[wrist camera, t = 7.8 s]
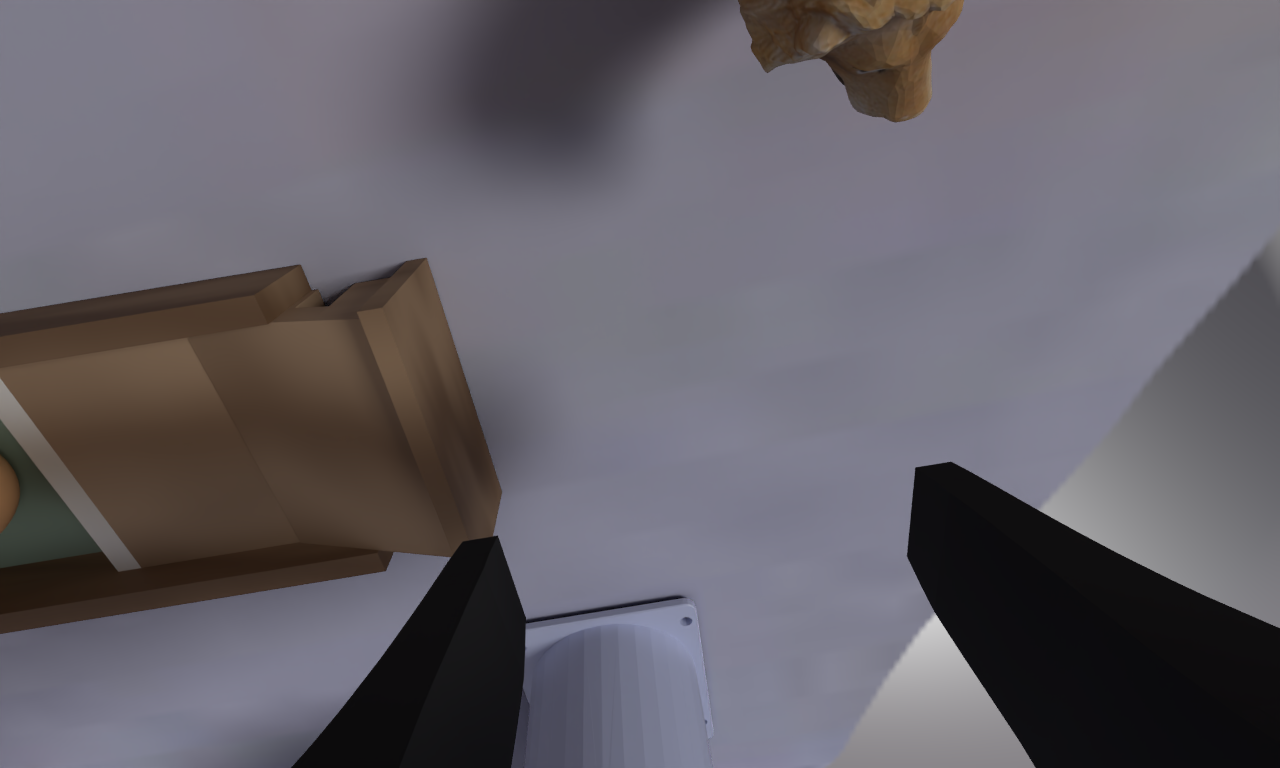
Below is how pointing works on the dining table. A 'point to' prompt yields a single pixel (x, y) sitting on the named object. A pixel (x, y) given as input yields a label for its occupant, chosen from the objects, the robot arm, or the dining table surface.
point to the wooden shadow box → (231, 442)
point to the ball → (8, 493)
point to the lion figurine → (857, 45)
